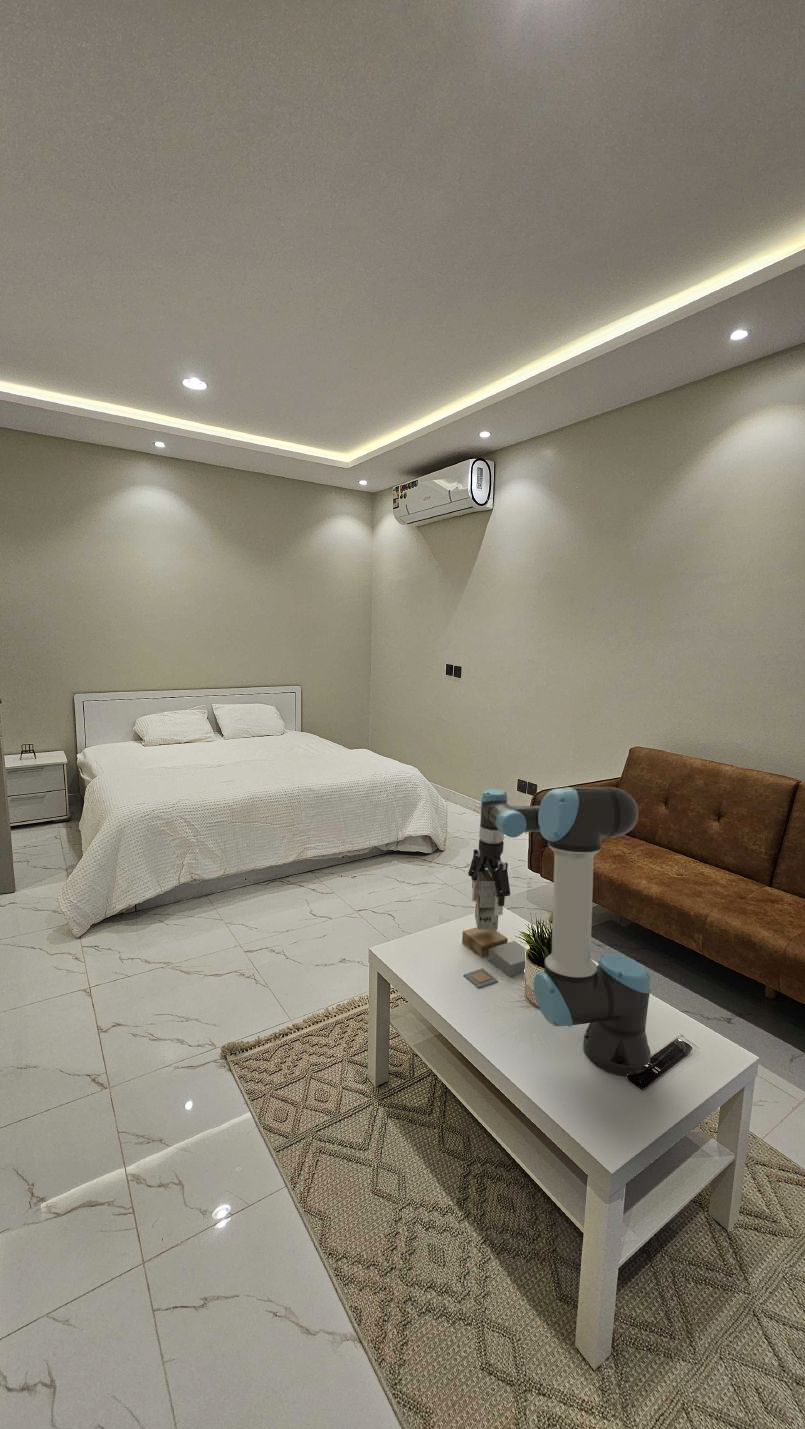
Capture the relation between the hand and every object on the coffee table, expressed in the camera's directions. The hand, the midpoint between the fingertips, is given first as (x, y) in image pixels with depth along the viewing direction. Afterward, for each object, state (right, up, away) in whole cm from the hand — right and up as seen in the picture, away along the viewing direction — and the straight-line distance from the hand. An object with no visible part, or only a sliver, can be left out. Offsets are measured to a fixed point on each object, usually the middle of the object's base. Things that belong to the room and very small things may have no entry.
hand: (486, 907), depth 188 cm
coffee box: (0, -5, +1) cm, 6 cm away
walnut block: (-1, -13, +2) cm, 13 cm away
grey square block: (+6, -15, -8) cm, 18 cm away
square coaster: (-4, -15, -16) cm, 22 cm away
